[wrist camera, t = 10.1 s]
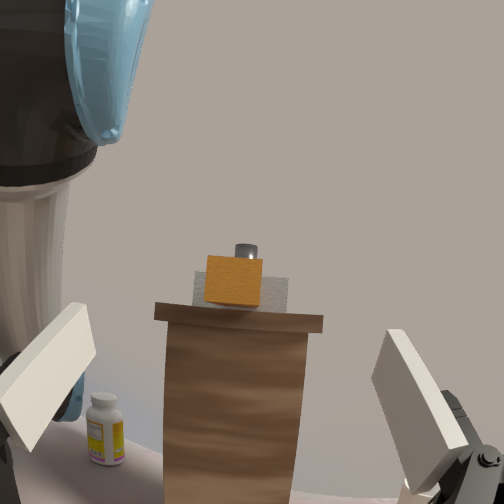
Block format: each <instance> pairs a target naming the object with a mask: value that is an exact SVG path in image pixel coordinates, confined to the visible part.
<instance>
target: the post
mask: <svg viewBox="0 0 504 504" xmlns="http://www.w3.org/2000/svg"><path fill="white" fill-rule="evenodd" d="M154 320H160V321H168V331H167V346H166V363H165V382H164V413H163V414H164V415H163V484H164V504H289V498H290V491H291V485H292V478H293V471H294V464H295V457H296V448H297V440H298V433H299V425H300V416H301V407H302V406H301V405H302V397H303V387H304V377H305V366H306V354H307V342H308V333H322V328H323V315H306V314H287V313H272V312H257V311H244V310H231V309H219V308H208V307H197V306H186V305H178V304H168V303H158V302H155V313H154Z"/></svg>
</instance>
